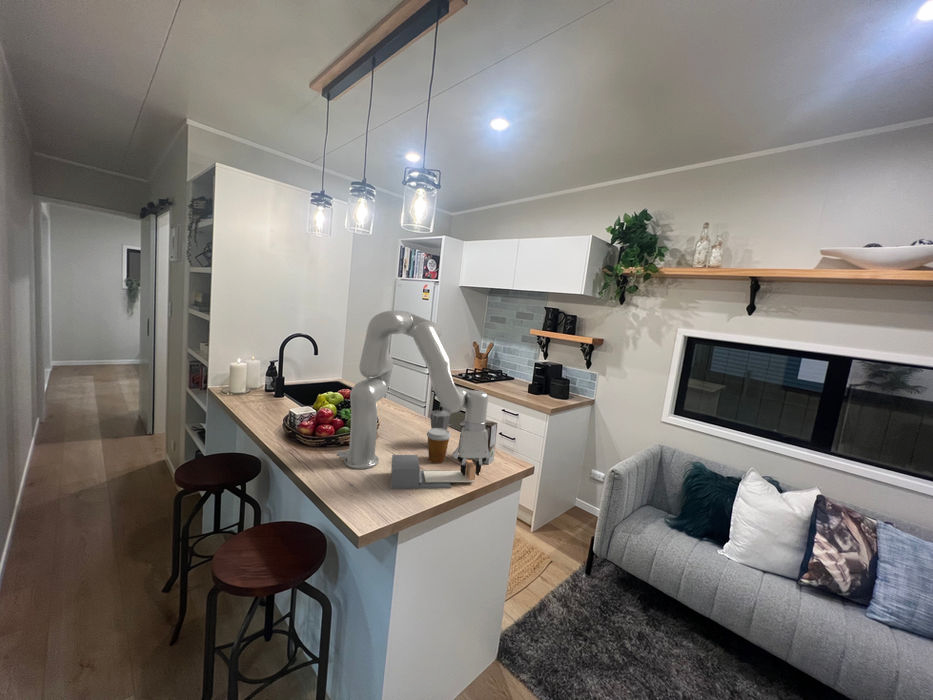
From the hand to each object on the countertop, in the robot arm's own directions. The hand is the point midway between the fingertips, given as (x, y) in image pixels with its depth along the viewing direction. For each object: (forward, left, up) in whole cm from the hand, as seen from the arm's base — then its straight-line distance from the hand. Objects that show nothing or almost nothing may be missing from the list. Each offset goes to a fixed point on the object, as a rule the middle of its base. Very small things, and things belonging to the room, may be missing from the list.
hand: (470, 473), depth 135 cm
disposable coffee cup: (-10, +17, -3) cm, 20 cm away
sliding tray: (-8, 0, -1) cm, 8 cm away
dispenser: (-18, 0, -2) cm, 18 cm away
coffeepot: (-7, +33, -3) cm, 34 cm away
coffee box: (+9, +18, -3) cm, 20 cm away
